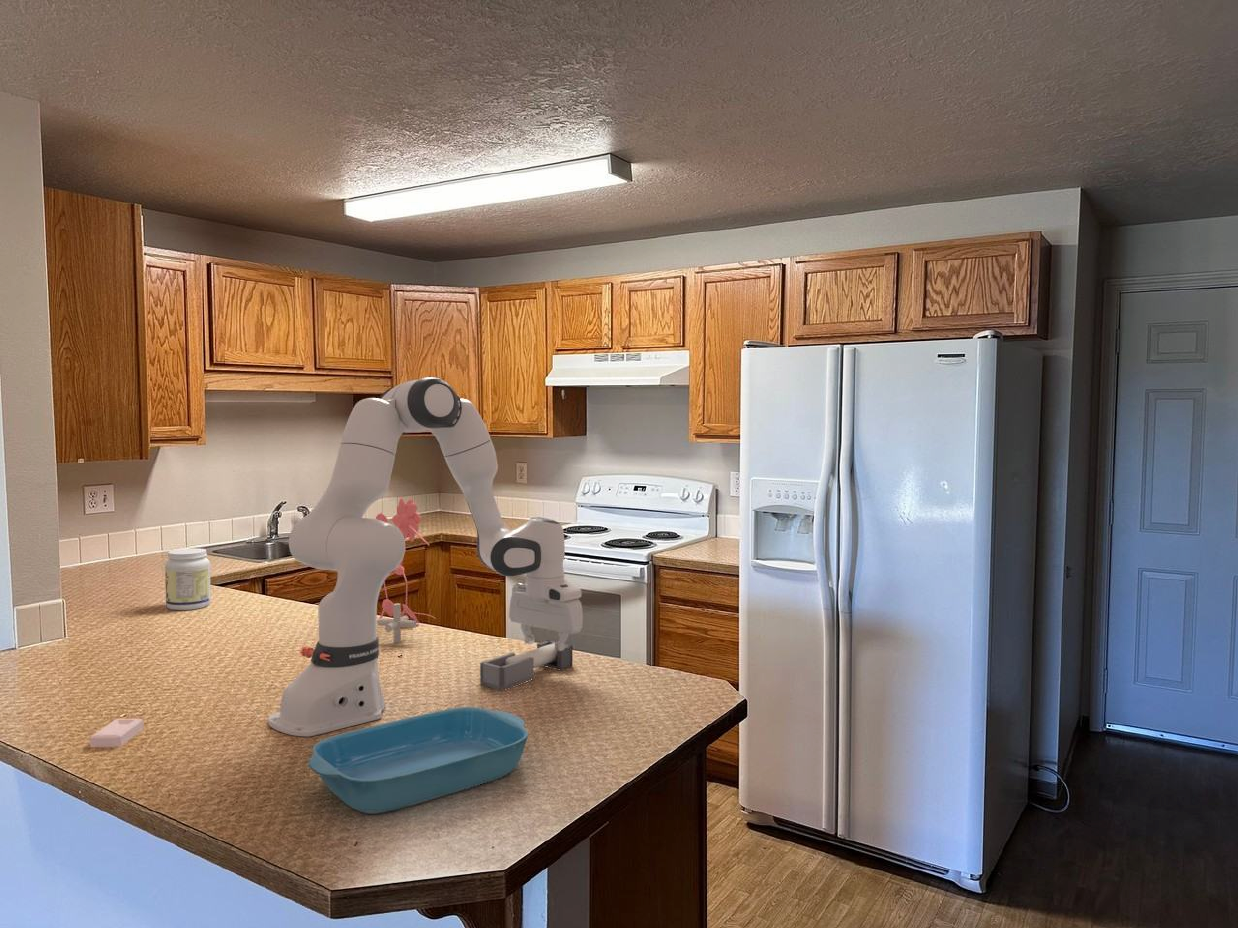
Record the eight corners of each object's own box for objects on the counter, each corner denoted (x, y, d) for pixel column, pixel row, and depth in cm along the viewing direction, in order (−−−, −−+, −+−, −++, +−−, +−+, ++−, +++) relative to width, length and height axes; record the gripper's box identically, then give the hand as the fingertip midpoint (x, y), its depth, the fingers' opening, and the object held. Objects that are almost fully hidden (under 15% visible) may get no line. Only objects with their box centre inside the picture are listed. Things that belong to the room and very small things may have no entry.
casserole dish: (484, 733, 164) (484, 695, 164) (554, 771, 147) (554, 730, 147) (287, 787, 140) (286, 744, 140) (343, 840, 123) (342, 791, 123)
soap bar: (88, 749, 155) (88, 736, 155) (114, 730, 164) (114, 717, 164) (119, 748, 156) (119, 735, 155) (144, 729, 165) (143, 717, 165)
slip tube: (518, 676, 193) (518, 659, 193) (505, 673, 195) (504, 655, 195) (562, 661, 205) (562, 644, 205) (549, 658, 207) (549, 641, 207)
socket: (561, 670, 202) (561, 649, 202) (537, 664, 207) (537, 643, 206) (572, 666, 205) (572, 645, 205) (548, 660, 210) (548, 640, 209)
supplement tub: (170, 603, 267) (168, 548, 266) (213, 600, 271) (212, 546, 269) (162, 612, 255) (160, 555, 254) (207, 609, 259) (206, 553, 258)
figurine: (412, 633, 234) (413, 503, 232) (360, 617, 251) (361, 496, 249) (458, 624, 245) (460, 500, 243) (406, 609, 262) (407, 493, 261)
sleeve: (501, 691, 187) (501, 668, 187) (480, 685, 191) (480, 662, 191) (533, 679, 195) (533, 657, 195) (512, 674, 199) (512, 652, 199)
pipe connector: (406, 648, 219) (406, 609, 218) (370, 646, 221) (369, 607, 220) (423, 638, 229) (423, 600, 228) (388, 636, 231) (387, 598, 230)
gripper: (503, 583, 205) (502, 641, 206) (569, 595, 193) (568, 657, 193) (522, 579, 210) (521, 636, 211) (587, 591, 198) (586, 651, 198)
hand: (544, 646), depth 202 cm, fingers open, 8 cm apart
